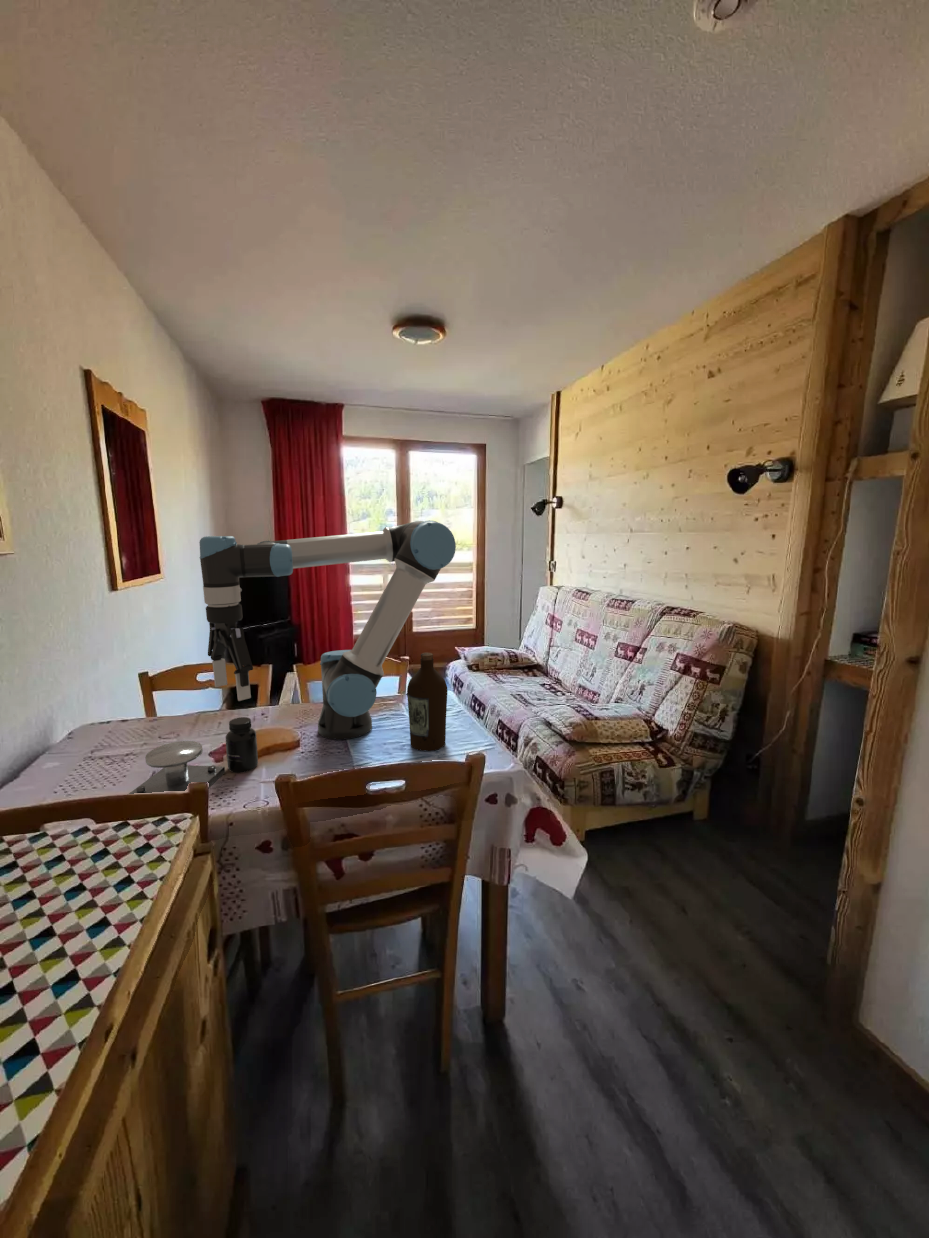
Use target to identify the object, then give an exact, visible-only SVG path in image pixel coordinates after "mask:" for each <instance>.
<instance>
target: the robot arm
mask: <svg viewBox="0 0 929 1238" xmlns="http://www.w3.org/2000/svg"><path fill="white" fill-rule="evenodd" d="M198 543H199V560H200V569H201V577H202V589H203V597H204V600H203V601H204V604H206V607H205V615H206V621H207V622H208V625H209V637H208V644H207V645H208V646H207V656H208V657H210V660H211V662H212V670H213V671H212V672H213V679H214V680H213V681H214V687H215V688H218V687H223V686H227V685H228V677H227V675H228V674H227V668H226V667H227V666H226V658H227V657H226V655H225V652H226V649H227V650H228V653H229V655H230V656H231V657H230V658H231V659H232V663H233V665H234V667H235V670H234V672H233V674H234V677H235V685H236V694H237V701H238V702H241V701H244V700H248V699H251V698H252V695H251V685H250V674H249V672H250V671H253V670H254V666H253V663H252V659H251V656H250V655H251V654H250V652H249V649H248V645H247V641H246V638H245V633H244V628H243V627H238V626H237V622H239V621H242V620H243V617H244V616H243V607H242V606H243V605H242V604H241V603H240V602H241V601H242V599H241V598H242V597H241V592H242V591H243V589H242V588H241V587H240V578H261V577H262V578H265V577H277V578H279V577H284V576H286V577H287V576H290V575H292V574H293V572H294V569H303V568H311V567H320V566H322V567H323V566H329V565H330V566H331V565H341V564H348V563H349V564H350V563H360V562H368V561H369V562H370V561H378V560H386V561H388V562H389V563H392V562H394V564H395V567H396V568H395V570H394V571H393V574H392V575H391V578H390V579H389V580H388V583H387V585H386V586H385V588H384V590H383V592H382V594H381V596H380V597H379V599H378V601H377V603H376V605H375V607H374V608H373V610H372V612H371V614H370V615H369V617H368V620H367V621H366V624H365V625H364V627H363V629H362V630H361V632H360V634H359V636H358V638H357V640H356V642H355V643H354V646H353V647H352V649H342V650H341V649H340V650H332V651H327V652H324V653H322V654H321V656H320V662H319V665H320V669H321V673H320V674H321V690H322V691H321V692H322V708H321V711H320V715H319V718H318V722H317V733H318V734H319V735H320V736H321V737H323V738H325V739H330V740H351V739H354V738H359V737H361V736H364V735H366V734H367V733H369V732H370V731H371V730H372V728H373V720H372V716H371V713H370V709H371V708H372V707H373V706H374V704H375V702H376V699H377V687H378V685H379V683H380V681H381V680H382V678H383V676H384V674H385V673H384V670H383V664H384V662H385V660H386V658H387V656H388V654H389V652H390V651H391V649H392V647H393V646H394V643H395V642H396V640H397V638H398V636H399V635H400V632H401V631H402V629H403V627H404V625H405V624H406V622H407V620H408V617H410V614H411V612H412V610H413V609H414V607H415V606H416V603H417V601H418V600H419V598H420V596H421V594H422V592H423V591H424V588H425V586H426V585H427V584H430V583H433V582H435V581H436V579H437V577H438V574H439V573H440V571H441V570H442V569H443V568H445V567H446V566H448V565H449V564H450V563H451V562H452V560H453V558H454V557H455V554H456V547H457V546H456V545H457V543H456V540H455V537H454V534H453V532H452V531H451V530H450V529H449V528H448V527H447V526H446V525H444V524H443V523H441V522H438V521H435V520H425V521H423V520H416V521H412V522H408V523H405V524H400V525H394V526H386V527H384V528H383V529H382V530H381V531H370V532H368V531H367V532H360V533H348V534H336V535H327V536H316V537H314V536H313V537H304V538H303V537H302V538H295V539H293V538H292V539H283V540H273V541H272V540H264V541H260V542H258V543H256V544H240V543H238V542H237V541H236V537H235V536H233V535H210V536H207V535H206V536H202V537H201V538H200V540H199V542H198Z"/></svg>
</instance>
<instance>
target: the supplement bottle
mask: <svg viewBox="0 0 929 1238" xmlns="http://www.w3.org/2000/svg"><path fill="white" fill-rule="evenodd" d="M228 729H229V731H228V732H227V733H226V735H225V749H226V761H227V762H226V765H227V769H228V771H229V772H231V773H235V774H241V773H242V774H243V773H246V772H250V771H252V770H254V769H255V768H256V767H257V766H258V764H259V759H258V753H259V752H258V743H257V742H258V741H257V738H258V737H257V732H256V730H255V729H254V728H253V727H252V720H251V718H250V717H246V716H241V717H234V718H233V719H230V720H229V721H228Z"/></svg>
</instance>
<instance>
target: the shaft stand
mask: <svg viewBox="0 0 929 1238" xmlns="http://www.w3.org/2000/svg"><path fill="white" fill-rule="evenodd" d="M203 751H204V750H203V745H202V743H200V742H198V741H194V740H181V741H174V742H169V743H166V744H165V743H164V744H163V745H159V746H157V747H155V748H153V749H152V750H150V751H148V753H146V755H145V757H144V758H145V764H146V766H149V767H151V768H158V769H159V768H160V770H158V771H157V772H156V773H154V774H153V775H152V776H151V777H149V778H148V779H147V780H145V781H144V782H143V783H141V784H140V785H139V786H137V787H136V788H133V790H132V791H131V792H129V793H128V794H134V793H152V792H164V791H185V790H186V789H187V786H188V784H189V783H191V782H208V783H209V788H210V787H211V786H212V785H213V784H215V782H216V781H218V780H219V779H220V778H221V777H222V776H223V775H224V774H226V767H225V766H220V765H219V766H216V765H189V764H188V763H190V762H193V761H194V760H196V759H198V758H199V757H200V756H202V754H203ZM161 768H162V769H161Z"/></svg>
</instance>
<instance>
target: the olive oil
mask: <svg viewBox="0 0 929 1238" xmlns="http://www.w3.org/2000/svg"><path fill="white" fill-rule="evenodd" d="M420 657H421V658H420V668H419V669H418V671H417V672H416V673H414V675H413V676H412V677H411V678H410V679H409V681H408V684H407V687H406V688H407V689H406V696H407V708H408V710H407V711H408V722H409V738H410V739H409V742H410V746H411V747H412V748H413V749H415V750H417V751H421V752H432V751H436V750H440V749H442V748H444V746H445V745H446V739H447V738H446V731H447V708H448V707H447V705H448V686H447V682H446V679H445V678H444V677H443V676H442V675H441V674H440V672H438V671H437V670H436V669H435V668H434V658H433V657H434V653H432V652H422V653H421V654H420Z"/></svg>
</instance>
